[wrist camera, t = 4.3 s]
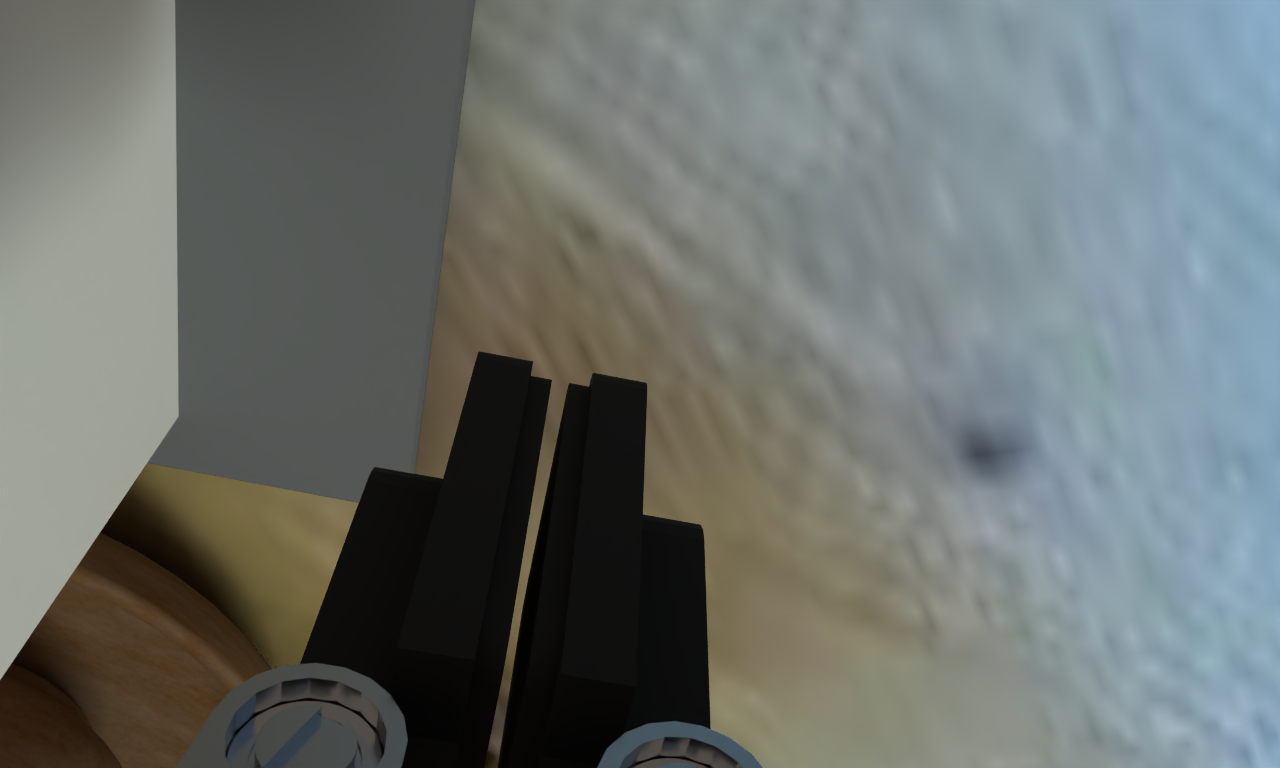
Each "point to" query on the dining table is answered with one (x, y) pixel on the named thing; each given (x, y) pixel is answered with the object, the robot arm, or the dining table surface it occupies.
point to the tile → (81, 280)
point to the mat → (310, 233)
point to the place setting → (120, 669)
